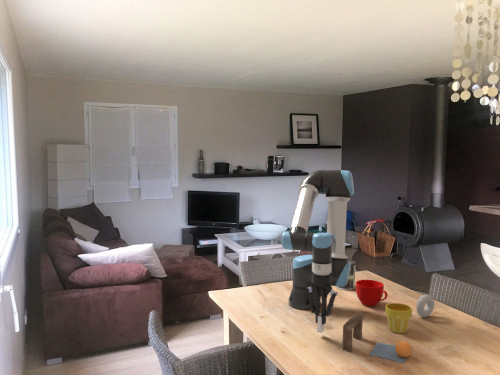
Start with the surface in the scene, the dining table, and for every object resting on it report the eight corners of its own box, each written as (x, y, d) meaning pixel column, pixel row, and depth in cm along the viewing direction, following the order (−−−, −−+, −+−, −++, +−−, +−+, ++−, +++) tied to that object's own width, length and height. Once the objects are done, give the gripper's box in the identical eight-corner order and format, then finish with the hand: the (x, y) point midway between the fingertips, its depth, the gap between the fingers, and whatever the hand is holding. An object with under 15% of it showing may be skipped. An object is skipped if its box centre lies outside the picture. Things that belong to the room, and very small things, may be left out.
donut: (420, 320, 190) (421, 297, 189) (413, 317, 193) (414, 295, 192) (435, 316, 195) (436, 294, 194) (428, 313, 198) (429, 292, 197)
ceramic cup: (376, 313, 198) (377, 291, 197) (349, 302, 212) (350, 282, 211) (395, 307, 205) (396, 287, 204) (368, 297, 219) (368, 278, 218)
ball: (395, 359, 155) (392, 344, 155) (398, 353, 159) (395, 338, 159) (411, 360, 152) (408, 344, 152) (414, 353, 157) (411, 338, 157)
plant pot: (380, 325, 184) (381, 302, 183) (404, 324, 185) (405, 302, 184) (390, 335, 174) (391, 311, 173) (415, 335, 175) (416, 311, 174)
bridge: (342, 349, 161) (343, 325, 160) (354, 335, 173) (355, 313, 173) (350, 351, 160) (351, 327, 159) (362, 337, 172) (362, 314, 171)
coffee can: (347, 291, 228) (348, 265, 227) (331, 286, 236) (332, 261, 235) (358, 287, 235) (359, 261, 234) (342, 283, 243) (343, 258, 242)
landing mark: (369, 354, 157) (369, 354, 157) (377, 342, 168) (377, 341, 168) (403, 363, 151) (403, 362, 151) (410, 349, 161) (410, 349, 161)
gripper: (302, 272, 171) (301, 331, 173) (334, 277, 164) (332, 338, 166) (309, 268, 178) (308, 324, 179) (340, 273, 171) (339, 331, 173)
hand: (320, 331), depth 173 cm, fingers closed
